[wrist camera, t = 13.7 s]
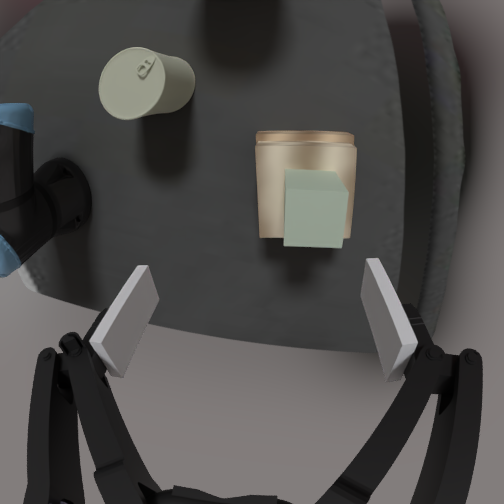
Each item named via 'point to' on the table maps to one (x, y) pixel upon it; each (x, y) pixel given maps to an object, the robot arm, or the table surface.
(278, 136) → the block
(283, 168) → the tower top
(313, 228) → the green block
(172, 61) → the can
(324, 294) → the table surface
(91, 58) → the table surface
